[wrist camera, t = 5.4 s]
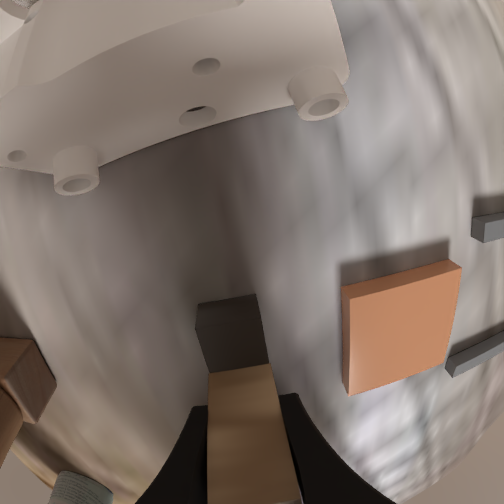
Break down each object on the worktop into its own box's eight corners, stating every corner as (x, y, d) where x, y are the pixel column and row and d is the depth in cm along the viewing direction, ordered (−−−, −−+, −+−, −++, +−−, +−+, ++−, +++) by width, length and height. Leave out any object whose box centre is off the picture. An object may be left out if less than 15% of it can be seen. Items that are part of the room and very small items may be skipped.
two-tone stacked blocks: (231, 411, 14) (241, 540, 7) (197, 304, 12) (178, 478, 5) (276, 403, 14) (304, 531, 7) (256, 294, 12) (297, 465, 5)
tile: (339, 376, 15) (348, 396, 13) (337, 282, 13) (349, 299, 11) (430, 346, 15) (443, 362, 13) (443, 255, 13) (461, 267, 11)
